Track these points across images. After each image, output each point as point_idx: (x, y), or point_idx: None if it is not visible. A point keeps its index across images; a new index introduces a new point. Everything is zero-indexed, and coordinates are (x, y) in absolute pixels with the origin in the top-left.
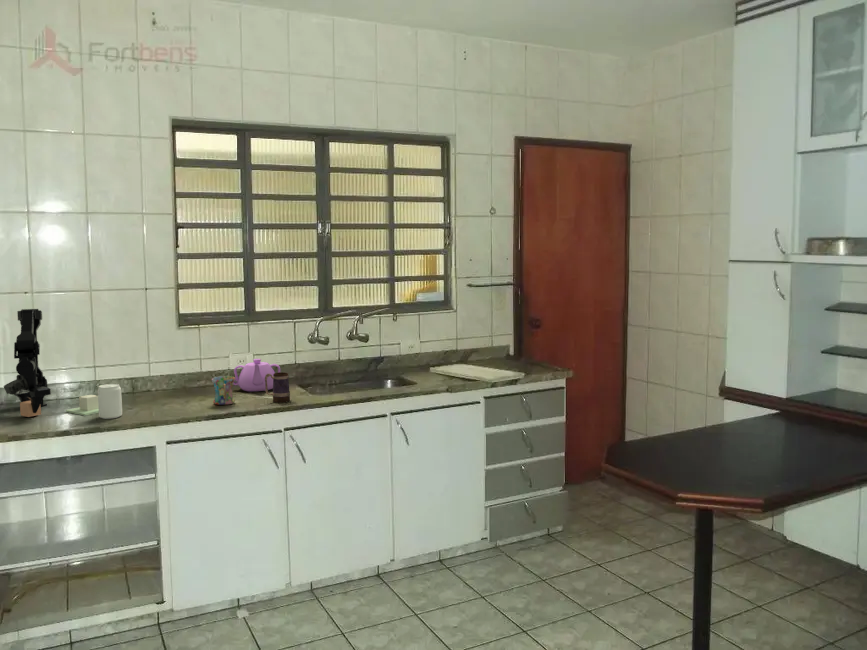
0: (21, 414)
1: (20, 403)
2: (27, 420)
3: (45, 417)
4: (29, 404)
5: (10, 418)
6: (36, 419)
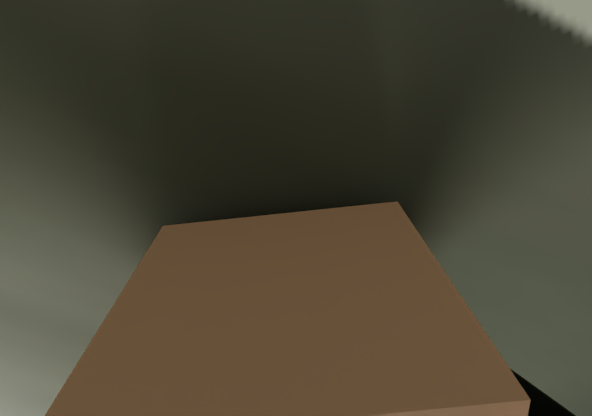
0: (371, 212)
1: (475, 378)
2: (30, 147)
3: (67, 372)
4: None
5: (449, 29)
6: (12, 260)
